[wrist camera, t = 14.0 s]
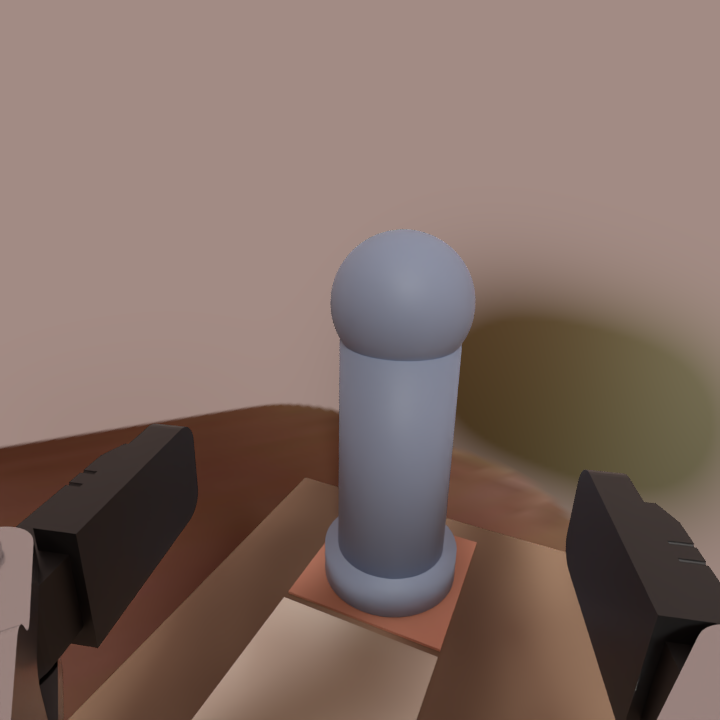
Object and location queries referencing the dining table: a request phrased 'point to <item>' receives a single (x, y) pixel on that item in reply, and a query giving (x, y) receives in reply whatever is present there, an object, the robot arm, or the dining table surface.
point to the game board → (363, 638)
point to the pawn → (397, 420)
